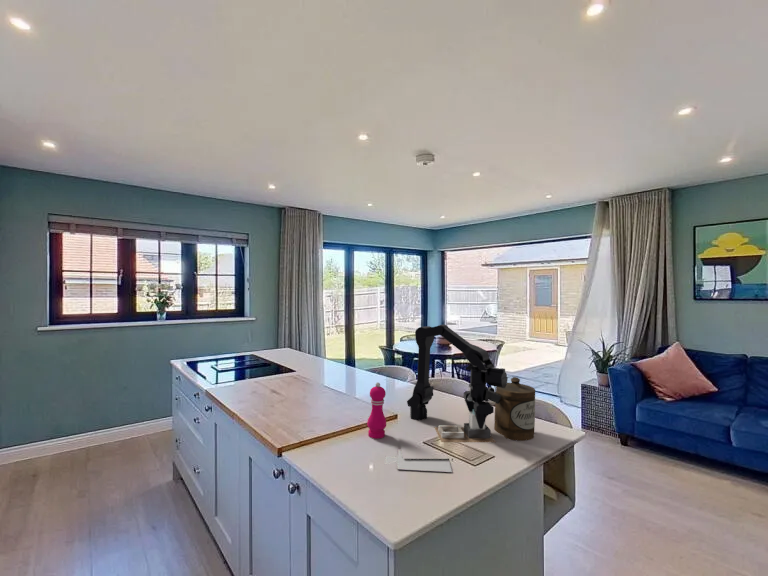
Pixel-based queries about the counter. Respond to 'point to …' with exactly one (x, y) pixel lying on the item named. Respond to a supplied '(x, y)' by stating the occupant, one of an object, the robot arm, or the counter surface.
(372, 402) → the pepper mill
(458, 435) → the brown board with frames
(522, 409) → the wooden container
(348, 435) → the counter surface
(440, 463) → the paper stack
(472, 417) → the plug
